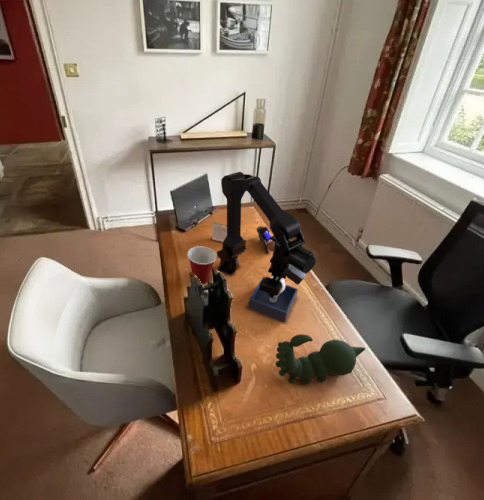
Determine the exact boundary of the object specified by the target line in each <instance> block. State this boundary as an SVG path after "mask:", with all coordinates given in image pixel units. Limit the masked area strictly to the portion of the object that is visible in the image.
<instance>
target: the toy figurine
mask: <svg viewBox="0 0 484 500" xmlns="http://www.w3.org/2000/svg"><path fill="white" fill-rule="evenodd" d="M313 341H314V340H313V338H312V337H311V335H308V334H304V333H303V334H296V335H293V336H292V337H291V338H290V340H289V341H288V340H283V341H279V342H277V347H276V352H277V353H276V354H275V358H276V359H277V361H276V362H275V367H277V368H279V369H280V370H278V375H279V376H280V377H285V376H286V374H287V375H288V378H287V381H288V382H289V383H290V384H292V385H293V384H295V383H296V382H297V379H299V380H302V384H304V385H305V386H308V385H310V383H311V380H313V379H314V378H316V379H317V381H318V382H320V383H326V382H327V379H328V378H327V376H328V375H329V374H330V375H332V376H337V377H342V376H347V375H348V374H351V373H353V370H354V369H355V367H356V364H357V357H358V356H360V355H361V354H362V353H363V352H364V351H365V350H366V347H364V346H351V345H350V344H349V343H347V342H346V341H344V340H341V339H331V340H327V341H326V342H324V343H323V344H322V345H321V347H320V349H319V350H316V351H315V350H314V351H312V352H309V354H308V355H307V356H300V357H298V358H296V357H295V351H294V350H295V348H297V347H300V346H301V345H304V344H307V343H309V342H313ZM294 347H295V348H294Z"/></svg>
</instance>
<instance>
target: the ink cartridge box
mask: <svg viewBox="0 0 484 500" xmlns="http://www.w3.org/2000/svg"><path fill="white" fill-rule="evenodd" d="M226 236H227V223H222V222H217V221H212V231H211V240H213V241H216V242H221V243H223V241H224V240H225V238H226Z"/></svg>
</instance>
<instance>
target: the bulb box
mask: <svg viewBox="0 0 484 500" xmlns="http://www.w3.org/2000/svg"><path fill="white" fill-rule="evenodd" d="M265 277H266V276H262V278H261V279H260V281H259V283H258V284H257V286H256V287H255V289H254V291H253V292H252V293H251V295H250V297H249V299H248V305H247V308H248V309H249V310H252V311H255V312H258V313H260V314H262V315H265V316H267V317H270V318H272V319H275V320H278V321H280V322H283V323H285V322H286V320H287V318H288V316H289V314H290V312H291V309H292V307H293V305H294V303H295V301H296V298H297V295H298V290H299V289H298V288H296V287H293V286H292V285H288V284H286V287H285V290H284V291H283V292H282V293H281V294H279V296H278V297H277V301H276V302H275V303H272V302H270V301H269V297H270V296H269V294H268V293H267V292H264V291H262V290H260V289H259V287H260V283H261V282H262V280H263V279H264V278H265Z"/></svg>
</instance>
